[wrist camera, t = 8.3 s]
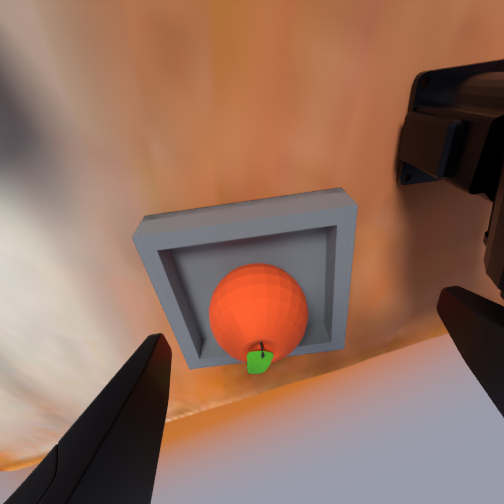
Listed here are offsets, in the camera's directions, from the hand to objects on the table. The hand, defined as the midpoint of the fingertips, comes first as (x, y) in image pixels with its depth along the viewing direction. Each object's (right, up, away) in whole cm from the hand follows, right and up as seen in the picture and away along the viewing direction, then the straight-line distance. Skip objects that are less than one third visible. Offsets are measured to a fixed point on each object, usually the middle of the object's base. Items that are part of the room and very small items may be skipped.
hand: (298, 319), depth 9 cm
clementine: (-1, 0, +14) cm, 14 cm away
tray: (-1, 0, +14) cm, 14 cm away
